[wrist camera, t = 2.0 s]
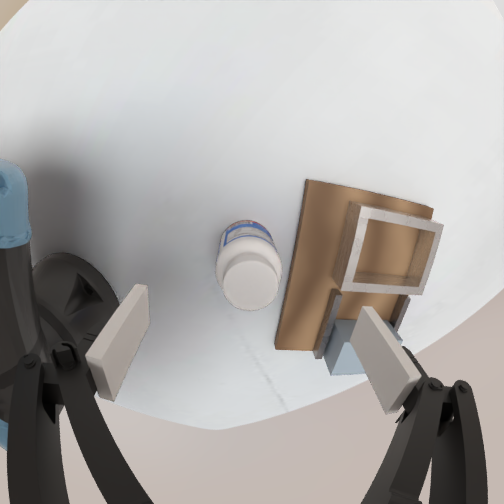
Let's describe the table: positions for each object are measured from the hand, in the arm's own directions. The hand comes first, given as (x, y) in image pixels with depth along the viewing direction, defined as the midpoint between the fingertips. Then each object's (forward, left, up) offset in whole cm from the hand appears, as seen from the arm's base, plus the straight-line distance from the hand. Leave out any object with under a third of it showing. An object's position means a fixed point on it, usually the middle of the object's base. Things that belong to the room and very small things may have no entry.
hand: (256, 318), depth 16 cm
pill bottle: (0, 0, -14) cm, 14 cm away
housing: (+15, -10, -12) cm, 22 cm away
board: (+13, -2, -13) cm, 19 cm away
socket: (+15, +2, -12) cm, 19 cm away
